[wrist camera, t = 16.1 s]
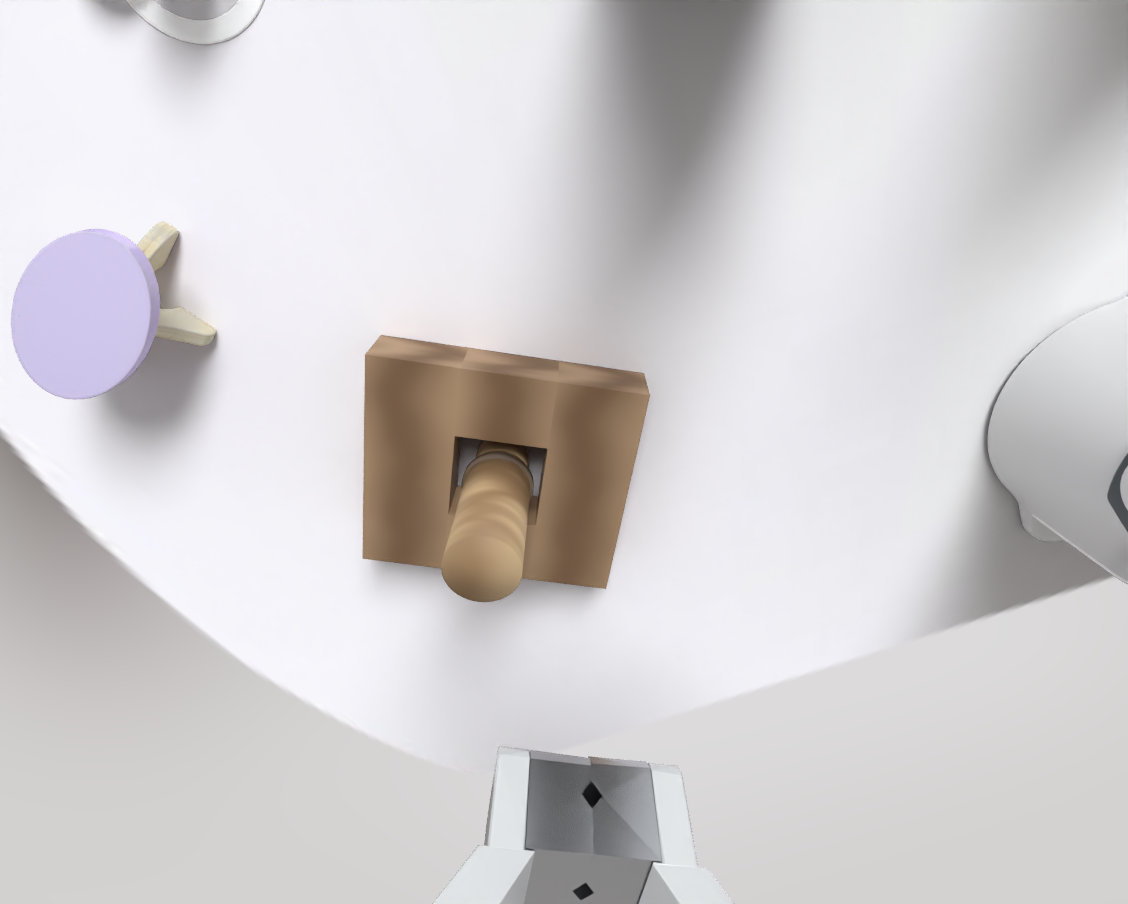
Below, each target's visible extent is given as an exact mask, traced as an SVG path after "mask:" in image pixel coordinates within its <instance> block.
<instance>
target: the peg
mask: <svg viewBox="0 0 1128 904" xmlns="http://www.w3.org/2000/svg"><path fill="white" fill-rule="evenodd" d="M528 464H529V452H528V449H527V447H526V446H524V445H517V444H509V443H502V442H495V441H487V440H484V441H483V442H482V443H481V444H480V446H479V448H478V452H477V455H476V458H475V459H474V460H473V461H472V462H471V463H470V464H469V465H468V466H467V468H466V470H465V472H464V475H463V479H462V492H461V495H460V499H459V502H458V506H457V509H456V513H455V517H454V520H453V524H452V527H451V531H450V534H449V538H448V542H447V545H446V549H445V552H444V556H443V559H442V564H441V570H442V575H443V578H444V580H445V582H446V584H447V585H448V586H449V587H450V588H451V589H452V590H453V591H454V592H455V593H457V594H458V595H460V596H462V597H463V598H466V599H469V600H472V601H477V602H491V601H496V600H500V599H502V598H504V597H506V596H508V595H509V594H511V593H512V592H513V591H514V590H515V589H516V588H517V587H518V585H519V583H520V581H521V578H522V570H523V561H524V551H525V541H526V531H527V521H528V511H529V502H530V500H531V498H532V494H533V477H532V474H531V472H530V470H529V469H528Z"/></svg>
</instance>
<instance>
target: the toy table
mask: <svg viewBox="0 0 1128 904" xmlns="http://www.w3.org/2000/svg"><path fill="white" fill-rule="evenodd" d="M178 234H179V231H178V230H177V229H175V228H174V227H173V226H171V225H169V224H168V223H166V222H159V223H158V224H156V225H155V226H154V227H153V228H152V229H151V230H150V231H149V232H148V233H147V234H146V235H145V236H144V237H143V238H142V240H141V241H140V242H139V244H138V245H136V244H135V243H133V242H132V241H131V240H130V239H128V238H126V237H125V236H123V235H120V234H118V233H115V232H112V231H108V230H103V229H88V230H83V231H79V232H75V233H71V234H68V235H65V236H62V237H60V238H58V239H56V240H54V241H52V242H51V243H50V244H48V245H47V246H46V247H44V248H43V249H42V250H41V251H40V252H39V253H38V254H37V255H36V256H35V257H34V259H33V260H32V261H31V262H30V264H29V265H28V266H27V268H26V269H25V271H24V273H23V275H22V277H21V279H20V282H19V283H18V286H17V289H16V292H15V295H14V300H13V307H12V317H11V328H12V338H13V344H14V347H15V351H16V353H17V356H18V358H19V361H20V362H21V364H22V366H23V368H24V369H25V371H26V372H27V374H28V375H29V376H30V377H31V379H32V380H33V381H34V382H35V383H36V384H37V385H39V386H40V387H41V388H42V389H44V390H45V391H47V392H49V393H51V394H53V395H55V396H59V397H62V398H66V399H86V398H91V397H95V396H98V395H100V394H102V393H105V392H107V391H109V390H111V389H112V388H114V387H115V386H117V385H118V384H120V383H122V382H123V381H124V380H126V379H127V378H128V377H129V376H130V375H131V374H133V372H134V371H135V370H136V369H137V368H138V367H139V365H140V364H141V363H142V361H143V360H144V359H145V357H146V356H147V354H148V352H149V350H150V347H151V345H152V343H153V341H154V338H155V337H156V338H163V339H170V340H175V341H179V342H184V343H189V344H194V345H198V346H205V345H208V344H209V343H210V342H211V341H212V339H213V338H214V336H215V334H216V330H215V328H213V327H212V326H211V325H209V324H207V323H206V322H204V321H203V320H201V319H199V318H198V317H196V316H195V315H193V314H192V313H190V312H188V311H187V310H186V309H184V308H182V307H177V308H173V309H162V308H160V293H159V286H158V282H157V279H156V276H155V273H154V272H155V271H156V270H158V269H159V268H161V267H163V266H164V264H165V262H166V260H167V258H168V256H169V254H170V252H171V249H172V247H173V245H174V243H175V241H176V239H177V237H178Z"/></svg>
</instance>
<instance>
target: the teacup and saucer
mask: <svg viewBox="0 0 1128 904" xmlns="http://www.w3.org/2000/svg"><path fill="white" fill-rule="evenodd" d="M126 1H127V2H128V3H129V5H130V6H131V7H132V8H133V9H134V10H135V11H136V12H137V13H138V14H139V15H140V16H141V17H142V18H143V19H144V20H146V21H147V22H148V23H149V24H151V25H152V26H154V27H155V28H156V29H158V30H160V31H161V32H163V33H165V34H167V35H169V36H171V37H173V38H176V39H178V40H181V41H185V42H189V43H195V44H214V43H219V42H223V41H226V40H229V39H231V38H233V37H235V36H236V35H238V34H239V33H241V32H242V31H243V30H245V29H246V28H247V27H248V26H249V25H250V24H251V22H252V21H253V20H254V19H255V17H256V16H257V14H258V12H259V11H260V9H261V7H262V4H263V2H264V0H238V1H237V3H236V4H235V5H234V6H233V7H232V8H231V9H230V10H229V11H227V12H226V13H225V14H223V15H221V16H219V17H216V18H213V19H209V20H191V19H186V18H183V17H180V16H178V15H175V14H173V13H171V12H169V11H168V10H166V9H165V8H163V7H162V6H160V5H159V4H158V3H157V2H155V1H154V0H126Z"/></svg>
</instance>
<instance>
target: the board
mask: <svg viewBox="0 0 1128 904" xmlns="http://www.w3.org/2000/svg"><path fill="white" fill-rule="evenodd" d="M649 397H650V394H649V390H648V387H647V383H646V380H645V376H644V373H638V372H631V371H624V370H617V369H610V368H604V367H597V366H590V365H583V364H576V363H569V362H562V361H555V360H549V359H542V358H535V357H528V356H521V355H514V354H507V353H500V352H494V351H487V350H480V349H473V348H466V347H459V346H452V345H445V344H439V343H432V342H425V341H418V340H411V339H404V338H397V337H390V336H383V335H381V336H380V337H379V338H378V340H377V341H376V342H375V343H374V344H373V346H372V347H371V348H370V349H369V351H368V352H367V353H366V354H365V411H364V493H363V559H371V560H379V561H387V562H395V563H403V564H411V565H419V566H427V567H435V568H441V564H442V559H443V556H444V552H445V549H446V545H447V542H448V538H449V534H450V531H451V527H452V524H453V520H454V517H455V513H456V509H457V506H458V502H459V499H460V495H461V492H462V486H457V477H458V465H459V454H460V442H461V437H465V438H473V439H480V440H487V441H495V442H502V443H509V444H517V445H524V446H531V447H539V448H545V455H544V461H543V468H542V474H541V481H540V487H539V494H538V497H537V496H532V498H531V500H530V502H529V511H528V521H527V531H526V541H525V551H524V561H523V570H522V578H524V579H532V580H540V581H548V582H556V583H564V584H572V585H580V586H588V587H596V588H604V589H606V586H607V582H608V577H609V573H610V569H611V564H612V560H613V555H614V551H615V547H616V542H617V538H618V533H619V529H620V525H621V520H622V516H623V511H624V507H625V503H626V498H627V494H628V489H629V485H630V481H631V476H632V472H633V467H634V463H635V459H636V454H637V450H638V445H639V441H640V437H641V432H642V428H643V423H644V419H645V415H646V410H647V406H648V401H649Z"/></svg>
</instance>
